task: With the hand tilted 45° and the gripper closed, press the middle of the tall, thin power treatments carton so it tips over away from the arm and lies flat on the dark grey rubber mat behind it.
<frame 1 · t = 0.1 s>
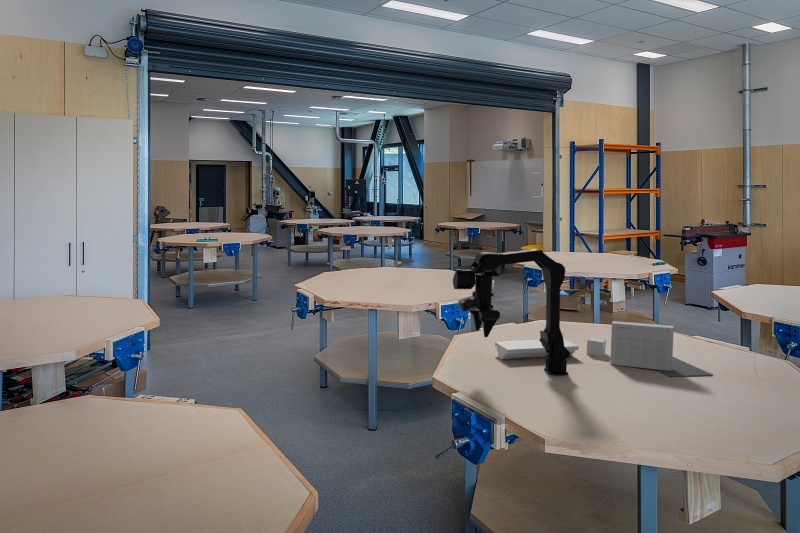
hand: (481, 333, 195), 15 cm above the table, tool pointing down, fingers open, 9 cm apart
rubber mat: (669, 365, 213), on the table
skincare box: (640, 366, 211), on the table, touching rubber mat
white cube: (595, 354, 227), on the table
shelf: (535, 357, 222), on the table
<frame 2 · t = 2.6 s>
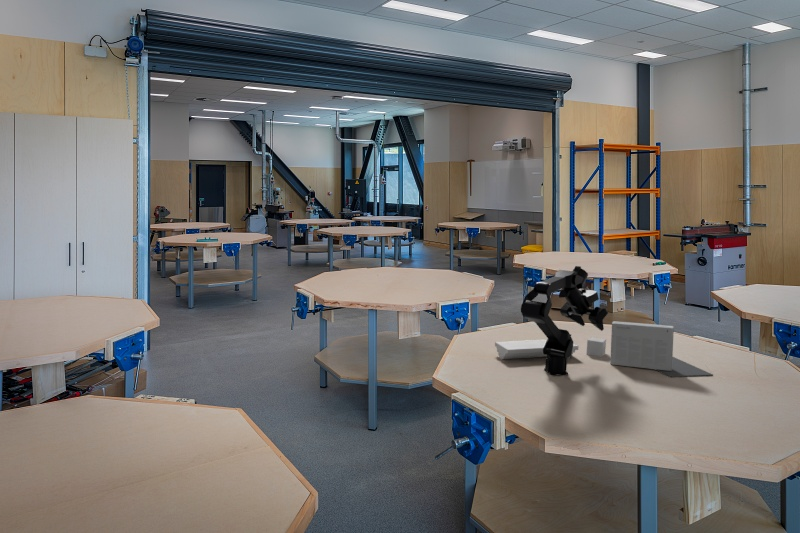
hand: (593, 327, 212), 14 cm above the table, tool tilted 40°, fingers open, 9 cm apart
nothing on the table moved.
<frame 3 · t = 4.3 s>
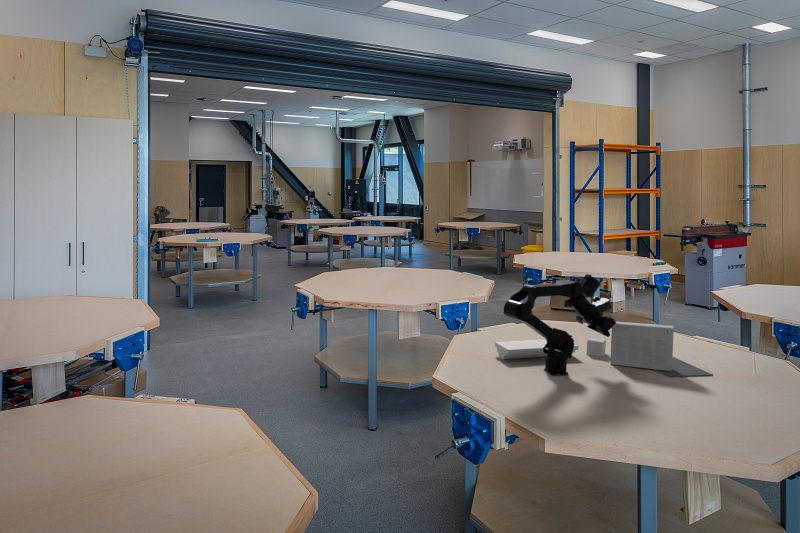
hand: (608, 336, 207), 12 cm above the table, tool tilted 45°, fingers closed
nothing on the table moved.
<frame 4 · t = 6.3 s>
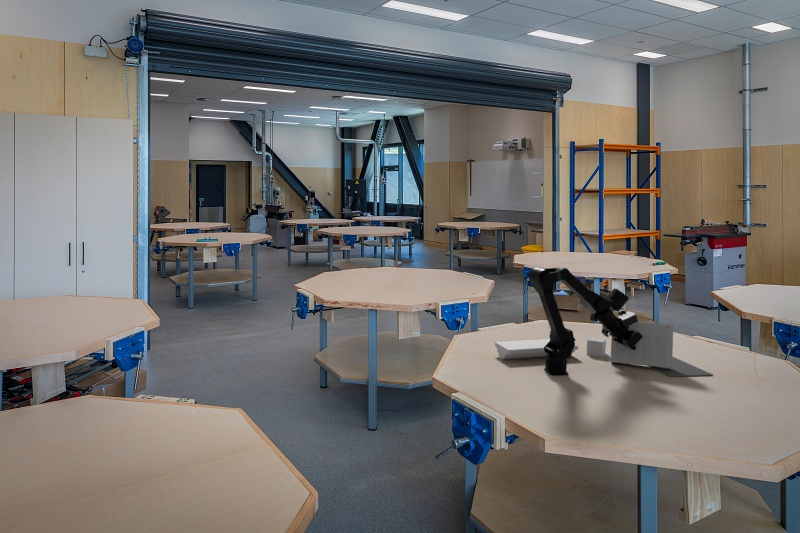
hand: (634, 349, 210), 7 cm above the table, tool tilted 45°, fingers closed
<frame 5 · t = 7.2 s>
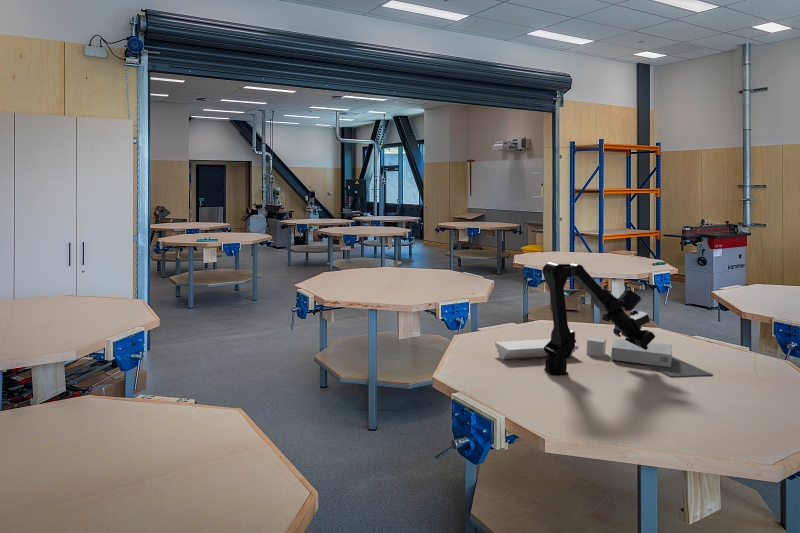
hand: (646, 348, 211), 7 cm above the table, tool tilted 45°, fingers closed
skincare box: (640, 358, 213), point 3 cm above the table, touching rubber mat
everything else where it was.
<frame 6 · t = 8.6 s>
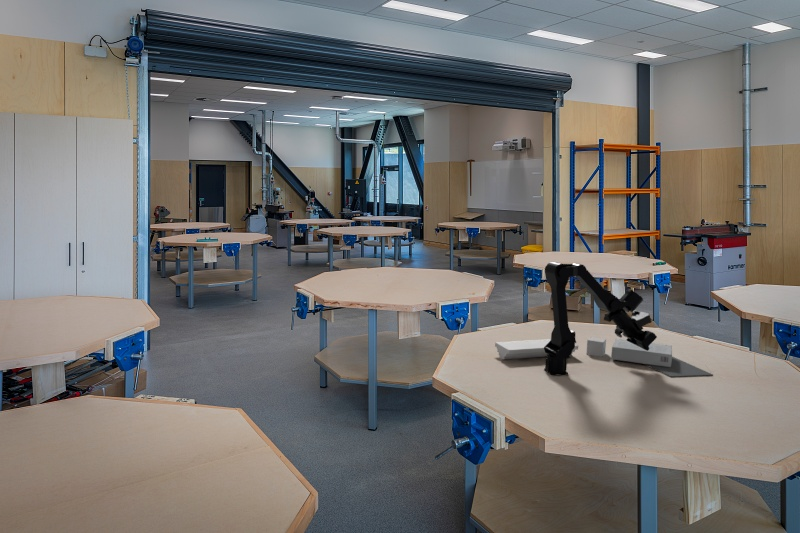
hand: (647, 349, 211), 7 cm above the table, tool tilted 45°, fingers closed
nothing on the table moved.
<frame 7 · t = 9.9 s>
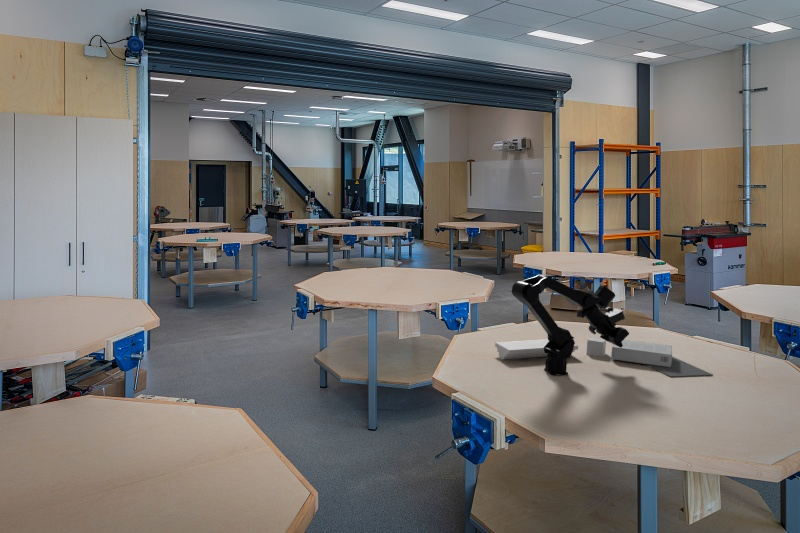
hand: (621, 346, 209), 8 cm above the table, tool tilted 45°, fingers closed
nothing on the table moved.
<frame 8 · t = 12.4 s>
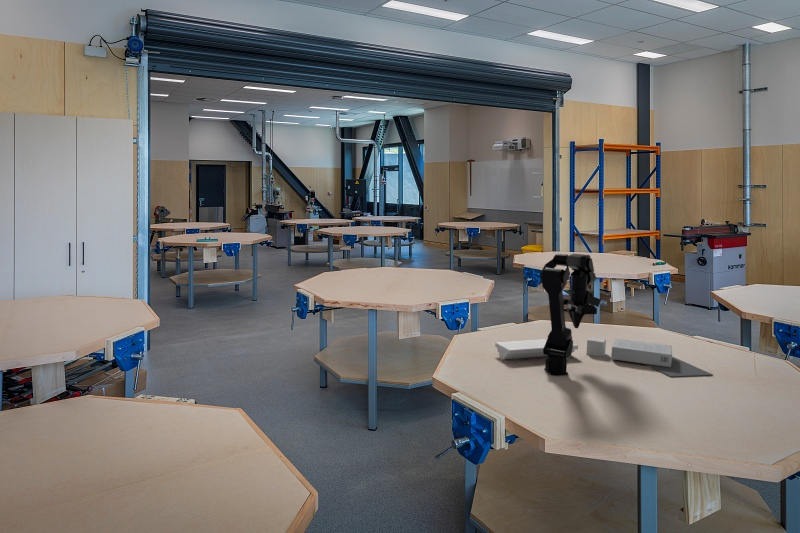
hand: (576, 328, 214), 13 cm above the table, tool pointing down, fingers closed
nothing on the table moved.
at the end: skincare box tilted 88°; skincare box inside the target area (7.2 cm from its centre), point 2.8 cm above the table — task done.
